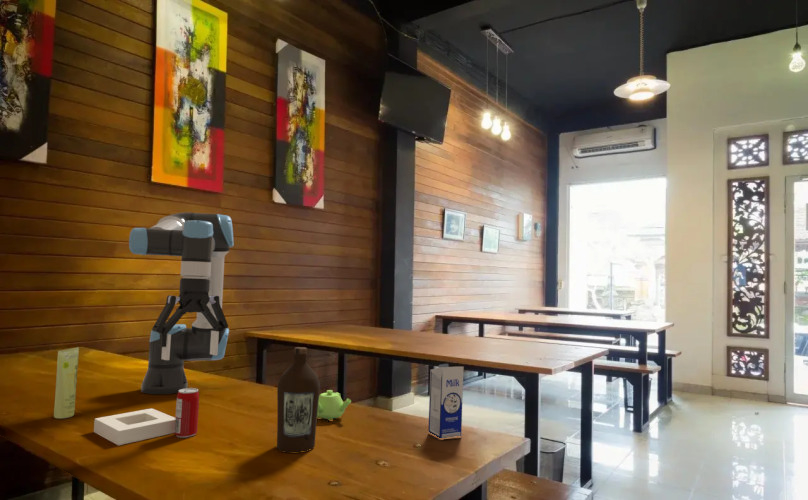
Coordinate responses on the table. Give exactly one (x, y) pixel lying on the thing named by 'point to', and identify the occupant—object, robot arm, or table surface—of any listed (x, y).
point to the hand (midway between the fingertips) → (190, 357)
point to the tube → (66, 383)
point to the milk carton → (446, 401)
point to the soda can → (187, 412)
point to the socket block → (134, 426)
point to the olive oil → (297, 405)
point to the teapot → (331, 405)
